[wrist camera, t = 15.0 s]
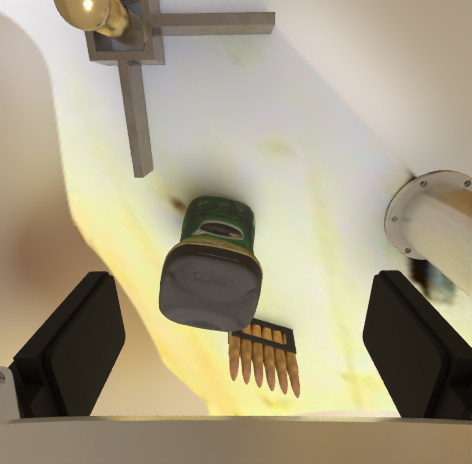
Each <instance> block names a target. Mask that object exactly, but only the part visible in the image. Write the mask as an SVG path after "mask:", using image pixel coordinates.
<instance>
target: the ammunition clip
mask: <svg viewBox="0 0 472 464" xmlns="http://www.w3.org/2000/svg"><path fill="white" fill-rule="evenodd" d="M228 344H229V362H230V374H231V378H232V380H233V381H235V379H236V377H237V373H238V366H239V357H240V358H241V363H242V374H243V379H244V382H245V383H246V384H248V382H249V379H250V374H251V359H252V362H253V367H254V375H255V380H256V383H257V386H258V387H259V388H260V387H261V385H262V381H263V363H264V367H265V371H266V377H267V382H268V385H269V388H270V390H271V391H273V390H274V387H275V368H276V371H277V374H278V379H279V384H280V387H281V390H282V392H283V393H284V394H285V395H286V393H287V388H288V382H287V372H288V375H289V378H290V382H291V386H292V389H293V392H294V394H295V396H296V397H297V398H299V395H300V383H299V376H298V366H297V361H296V356H295V354H296V347H295V341H294V335H293V330H292V329H288V328H285V327H281V326H278V325H275V324H271V323H268V322H264V321H261V320H258V319H254V318H253V319H252V321H251V323H250V324H249V326H248V327H247V328H244V329H242V330H239V331H233V332H228ZM286 370H287V372H286Z"/></svg>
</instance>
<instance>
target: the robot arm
mask: <svg viewBox="0 0 472 464" xmlns="http://www.w3.org/2000/svg"><path fill="white" fill-rule="evenodd" d="M392 217H393V218H392ZM385 229H386V234H387V237H388V239H389V241H390V242H391V244H392V245H393V246H394V247H395V248H396V249H397V250H398V251H399V252H400V253H402V254H403V255H405V256H408V257H410V258H414V259H420V260H427V261H429V262H430V263H431V264H432V265H433V266H434V267H436V268H437V269H438V270H439V271H440V272H441V273H443V274H444V275H445V276H446V277H447V278H448V279H450V280H451V281H452V282H453V283H454V284H455V285H457V286H458V287H459V288H460V289H461V290H462V291H464V292H465V293H466V294H467V295H468V296H469V297H471V298H472V178H471V177H469V176H467V175H465V174H462V173H459V172H455V171H450V170H441V171H440V170H439V171H434V172H429V173H427V174H424V175H421V176H419V177H417V178H416V179H414V180H412V181H411V182H409V183H408V184H407V185H405V186H404V187H403V188H402V189H401V190H400V191H399V192H398V193H397V194H396V196H395V197H394V199H393V200H392V202H391V204H390V206H389V208H388V210H387V214H386V218H385ZM124 342H125V330H124V325H123V320H122V315H121V310H120V305H119V300H118V296H117V290H116V285H115V280H114V277H113V276H112V275H109V273H108V272H106V271H102V272H89V273H88V274H87V275H86V276H85V277H84V278H83V279H82V281H81V282H80V283H79V284H78V285H77V286H76V287H75V288H74V290H73V291H72V292H71V293H70V294H69V295H68V296H67V298H66V299H65V300H64V301H63V302H62V303H61V304H60V306H59V307H58V308H57V309H56V310H55V311H54V312H53V313H52V314H51V316H50V317H49V318H48V319H47V320H46V321H45V323H44V324H43V325H42V326H41V327H40V328H39V329H38V330H37V331H36V333H35V334H34V335H33V336H32V337H31V338H30V339H29V341H28V342H27V343H26V344H25V345H24V346H23V347H22V349H21V350H20V351H19V352H18V353H17V354H16V355H15V356H14V357H13V359H14V361H13V363H12V364H11V365H10V366H9V367H8V368H6V367H0V464H472V348H471V347H470V346H469V345H468V343H467V342H466V341H465V340H464V339H463V338H462V337H461V336H460V335H459V334H458V333H457V332H456V331H455V330H454V328H453V327H452V326H451V325H450V324H449V323H448V322H447V321H446V320H445V319H444V318H443V317H442V316H441V315H440V313H439V312H438V311H437V310H436V309H435V308H434V307H433V306H432V305H431V304H430V303H429V302H428V301H427V300H426V298H425V297H424V296H423V295H422V294H421V293H420V292H419V291H418V290H417V289H416V288H415V287H414V286H413V285H412V284H411V282H410V281H409V280H408V279H407V278H406V277H405V276H404V275H403V274H402V273H401V272H400V271H398V270H382V271H380V273H379V275H375V276H374V279H373V284H372V289H371V294H370V299H369V304H368V309H367V315H366V320H365V325H364V330H363V342H364V345H365V347H366V349H367V351H368V353H369V355H370V357H371V359H372V360H373V362H374V364H375V366H376V368H377V370H378V372H379V374H380V376H381V378H382V380H383V382H384V384H385V386H386V388H387V390H388V392H389V394H390V396H391V398H392V400H393V402H394V404H395V406H396V408H397V410H398V412H399V414H400V416H401V418H390V417H310V416H309V417H308V416H90V414H91V412H92V410H93V408H94V406H95V403H96V401H97V399H98V397H99V395H100V393H101V391H102V389H103V387H104V385H105V383H106V381H107V378H108V376H109V374H110V372H111V370H112V368H113V366H114V364H115V362H116V359H117V358H118V356H119V353H120V351H121V349H122V347H123V345H124Z"/></svg>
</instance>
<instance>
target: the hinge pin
mask: <svg viewBox="0 0 472 464" xmlns="http://www.w3.org/2000/svg"><path fill="white" fill-rule="evenodd" d="M54 3H55V5H56V8H57V10H58V12H59V13H60V15H61V16H62V17H63V18H64V19H65V21H67V22H68V23H69V24H70V25H72V26H74V27H76V28H78V29H80V30H83V31H90V32H91V31H97V32H99V33H101V34H103V35H105V36H107V37H110V38H112V39H114V40H116V41H118V42H120V43H122V44H124V45H126V46H128V47H130V48H139V47H141V46H142V45H143V44H144V43H145V40H144V31H143V22H142V19H141V18H140V17H139V16H138V15H136V14H135V13H134V12H133V11H131V10H130V9H129V8H128V7H127V6H125V5H124V4H123V3H122V2H121V1H119V0H54Z"/></svg>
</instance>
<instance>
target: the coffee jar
mask: <svg viewBox="0 0 472 464" xmlns="http://www.w3.org/2000/svg"><path fill="white" fill-rule="evenodd" d="M254 236H255V217H254V214H253V212H252V211H251V209H250V208H248V207H247V206H245V205H243V204H241V203H238V202H235V201H231V200H227V199H223V198H217V197H206V196H205V197H199V198H197V199H195V200H193V201H192V202H191V204H190V205H189V207H188V209H187V212H186V215H185V218H184V222H183V227H182V234H181V239H180V243H178V244H177V245H175V246H174V247H173V248H172V249H171V250H170V251H169V253H168V254H167V256H166V258H165V261H164V264H163V269H162V275H161V281H160V292H159V309H160V311H161V313H162V314H163V315H164V316H165V317H166V318H168V319H169V320H171V321H173V322H176V323H179V324H183V325H188V326H192V327H197V328H202V329H208V330H216V331H223V332H233V331H239V330H242V329H244V328H247V327H248V326H249V324H250V323H251V321H252V319H253V316H254V314H255V311H256V308H257V305H258V301H259V297H260V292H261V285H262V279H263V272H262V268H261V265H260V263H259V261H258V260H257V258H256V257H255V256H254V252H253V244H254Z"/></svg>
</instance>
